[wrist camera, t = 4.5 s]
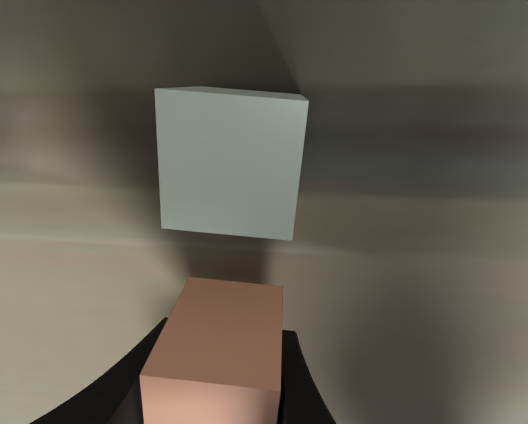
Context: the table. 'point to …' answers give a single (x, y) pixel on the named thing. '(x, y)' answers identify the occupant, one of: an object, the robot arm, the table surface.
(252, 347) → the terracotta block
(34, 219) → the table surface
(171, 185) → the sage block
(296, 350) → the robot arm
